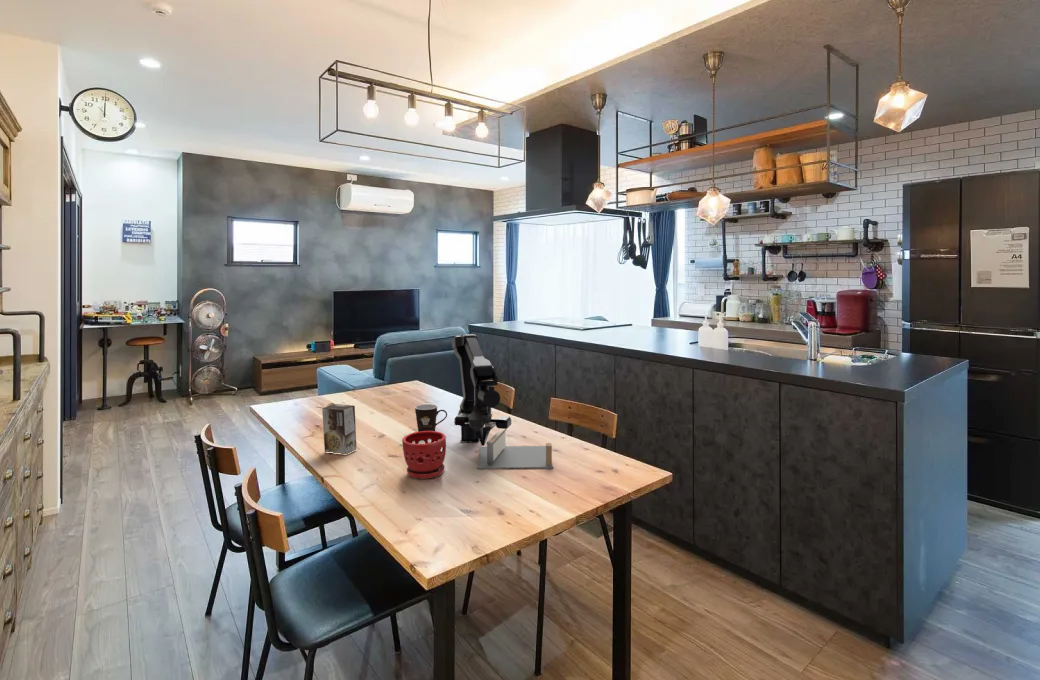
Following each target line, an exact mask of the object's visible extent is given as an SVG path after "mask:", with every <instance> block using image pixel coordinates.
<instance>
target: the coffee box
mask: <svg viewBox="0 0 1040 680" xmlns="http://www.w3.org/2000/svg"><path fill="white" fill-rule="evenodd" d="M355 408H356V407H355V405H353V404H352V405H351V404H339V403H332V404H330V405H327V406H324V407H322V409H321V411H322V427H323V442H324V443H323V445H324V446H323V447H324V453H325V452H333V453H341V454H348V453H350V452H352V451H354V450H356V449H357V431H356V428H357V427H356V409H355Z"/></svg>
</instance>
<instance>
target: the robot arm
mask: <svg viewBox="0 0 1040 680" xmlns="http://www.w3.org/2000/svg"><path fill="white" fill-rule="evenodd" d="M451 347H452V348H451V349H453V353H454V356H455V357H456V358H457V359H458V361H459V370H460V377H461V378H460V379H461V381H460V382H461V390H462V400H461V402H460V404H459V410H458V413H457V416H455V417H454V420H453V421H454V422H453V423H454V424H453V425H454V426H460V431H461V432H460V443H478V442H480V445H481V447H485V446H486V444H487V440H488V437H489V434H490V432H491V430H492V429H493V428H494V427H496V428H497V429H500V428H501V429H508V428H509V427H510V426H512V418H511V417H510V416H508V415H507V416H505V415H504V416H503V415H499V416H498V418H492V417H493V414H492V409H493V408H495V407H497V406H498V405H499V404H500V402H501V395H500V393H499V392H498V391H497V390H495V386H498V381H499V379H498V375H497V372H496V370H495V367H494V366H493V364H492V362H491V361H490V359H487V358H485V356H484V354H483V351H482V349H481V347H480V345H479V342H478V337H477V335H476V334H475V333H470V334H467V333H465V334H463V335H455V336H454V338H452V340H451Z"/></svg>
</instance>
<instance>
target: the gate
mask: <svg viewBox="0 0 1040 680" xmlns="http://www.w3.org/2000/svg"><path fill="white" fill-rule="evenodd" d="M498 429H499V430H497V432H495V433H494V435H493V436H492V437H490V439H488V441H486V447H487V464H493V461H494V460H495V459H496V457H497V456H498V455H499V454H500V452H501V451H502V450H503V449H504V448H505V446H506V431H507V429H508V428H507V429H501V428H498Z"/></svg>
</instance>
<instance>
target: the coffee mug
mask: <svg viewBox="0 0 1040 680" xmlns="http://www.w3.org/2000/svg"><path fill="white" fill-rule="evenodd" d="M414 410H415V411H414V413H415V418H416V425H417V432H420V431H436V427H437V426H438V425H440V423H442V422H444V421H445V420H446V419H447V417H448V412H447V411H446V410H445V409H439V410H438V405H436V404H432V403H431V404H430V403H429V404H427V403H426V404H418V405H416V406H414ZM440 412H443V413H445V417H443V419H441V420H440V421H437V417H438V415H439V413H440Z"/></svg>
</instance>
